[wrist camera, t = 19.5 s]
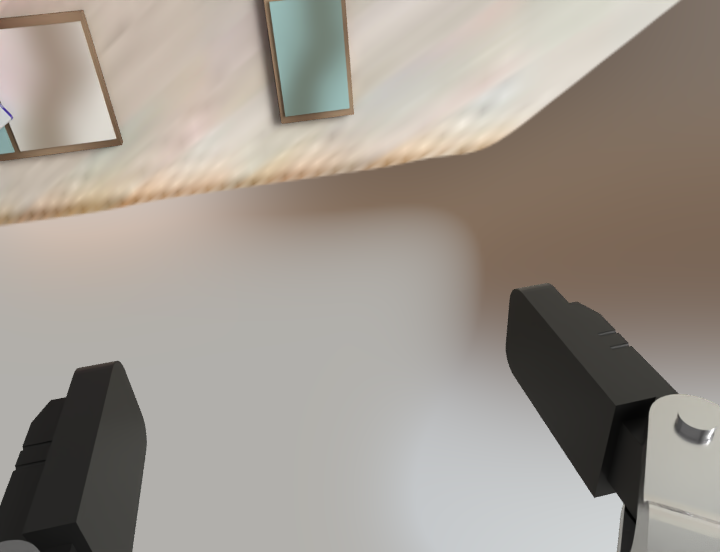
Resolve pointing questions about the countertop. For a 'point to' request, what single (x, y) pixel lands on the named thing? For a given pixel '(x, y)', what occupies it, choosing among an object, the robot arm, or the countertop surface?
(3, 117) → the supplement box
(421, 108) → the countertop surface
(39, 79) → the track
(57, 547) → the robot arm
